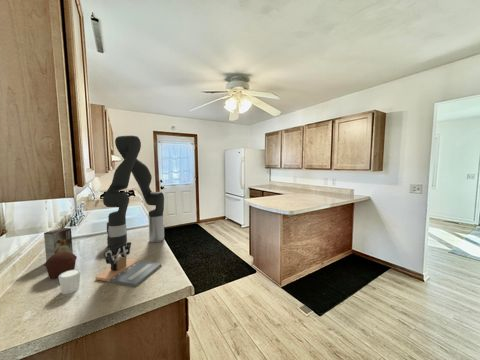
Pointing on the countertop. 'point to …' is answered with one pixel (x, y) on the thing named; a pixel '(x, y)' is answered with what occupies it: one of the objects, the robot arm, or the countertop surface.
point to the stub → (121, 266)
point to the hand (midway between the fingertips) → (118, 267)
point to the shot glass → (69, 281)
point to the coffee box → (58, 241)
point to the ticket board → (136, 273)
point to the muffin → (60, 264)
